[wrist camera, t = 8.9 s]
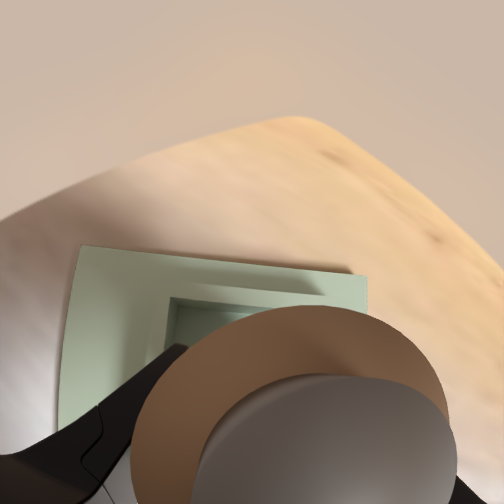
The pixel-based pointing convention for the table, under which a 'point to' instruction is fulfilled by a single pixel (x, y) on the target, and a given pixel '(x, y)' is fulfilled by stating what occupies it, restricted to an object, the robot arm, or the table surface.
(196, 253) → the table surface
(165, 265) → the sage tray
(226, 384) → the pepper mill
